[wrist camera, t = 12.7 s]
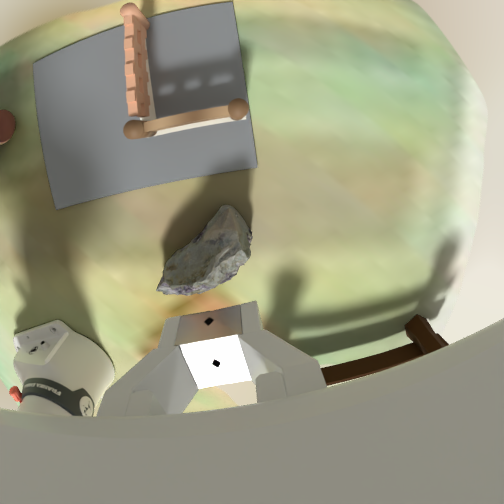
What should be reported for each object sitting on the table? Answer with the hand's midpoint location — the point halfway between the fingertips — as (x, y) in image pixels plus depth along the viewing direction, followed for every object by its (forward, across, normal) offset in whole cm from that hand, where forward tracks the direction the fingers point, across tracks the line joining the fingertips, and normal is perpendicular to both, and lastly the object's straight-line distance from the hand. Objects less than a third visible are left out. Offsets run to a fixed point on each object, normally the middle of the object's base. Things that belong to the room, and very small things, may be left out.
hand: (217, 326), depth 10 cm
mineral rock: (+29, +5, +8) cm, 31 cm away
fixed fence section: (+29, +2, -8) cm, 30 cm away
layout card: (+29, +9, -13) cm, 33 cm away
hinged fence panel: (+28, +6, -16) cm, 33 cm away
